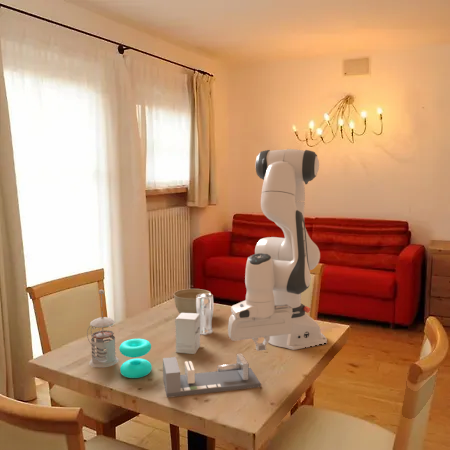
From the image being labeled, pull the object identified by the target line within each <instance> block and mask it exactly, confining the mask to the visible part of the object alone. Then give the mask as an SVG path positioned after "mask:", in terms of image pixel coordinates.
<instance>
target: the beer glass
mask: <svg viewBox="0 0 450 450" xmlns="http://www.w3.org/2000/svg"><path fill="white" fill-rule="evenodd" d="M196 313H198V314H200V336H207V335H212V334H213V332H214V331H213V327H212V320H213V315H214V295H213V294H212V293H211V294H208V293H202V294H198V295H196Z"/></svg>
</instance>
